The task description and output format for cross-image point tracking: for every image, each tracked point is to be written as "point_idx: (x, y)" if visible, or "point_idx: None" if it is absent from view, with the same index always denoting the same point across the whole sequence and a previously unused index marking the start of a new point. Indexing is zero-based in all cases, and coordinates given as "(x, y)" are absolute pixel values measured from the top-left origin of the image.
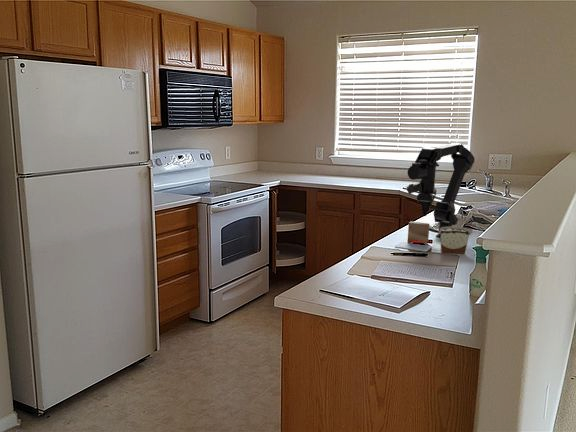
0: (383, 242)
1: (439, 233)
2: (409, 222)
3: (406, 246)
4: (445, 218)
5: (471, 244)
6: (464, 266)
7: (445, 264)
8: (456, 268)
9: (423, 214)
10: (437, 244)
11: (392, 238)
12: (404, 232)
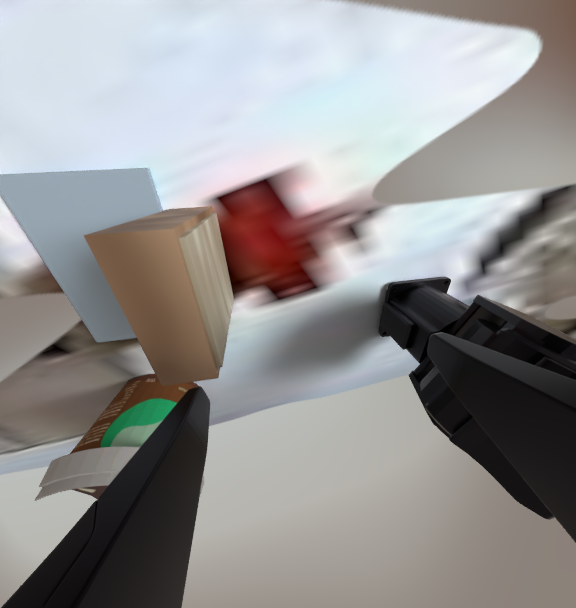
0: (16, 12)
1: (49, 467)
2: (99, 239)
3: (71, 241)
4: (423, 390)
5: (332, 394)
6: (61, 455)
7: (14, 427)
8: (13, 452)
9: (179, 407)
10: (261, 328)
11: (213, 48)
12: (442, 78)
